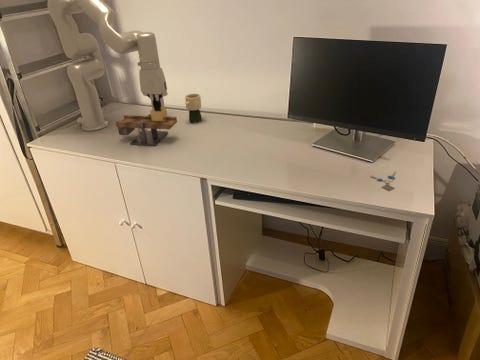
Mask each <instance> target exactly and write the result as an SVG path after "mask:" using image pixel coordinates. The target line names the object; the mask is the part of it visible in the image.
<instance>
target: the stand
mask: <svg viewBox="0 0 480 360" xmlns="http://www.w3.org/2000/svg"><path fill="white" fill-rule="evenodd" d="M147 116H151V113H150V114H148V115H147ZM137 125H138V128H137V129H138V133H139V134H138V135H137V136H136V137H135V138H134V139H133V140H132V141H131V142H130V143H129V145H130V146H139V147H157V146H158V145H159V144H160V142H161V143H162V141H163V140H164V139H165V137H167V135H169V131H167V130H166V131H164V130H163V131H162V130H158V129H150V130H146V128H145V127H144V123H138V124H137Z"/></svg>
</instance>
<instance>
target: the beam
mask: <svg viewBox="0 0 480 360" xmlns="http://www.w3.org/2000/svg"><path fill="white" fill-rule="evenodd" d="M167 119H168V121H167V122H166V123H152V118H151V116H148V115H135V114H134V115H129V114H127V115H126V114H124V115H123V118H122V120H121V121H120V120H119V121H115V125H116V126H115V127H116V128H117V129H118V134H119V136H129V135H130V134H131V133H133V131H135V130H136V129H138V125H137V124H138V123H144V127H145V129H150V130H151V129H157V130H170V129H172V128H173V127H174V126H175V124H177V123H178V120H177V116H167Z"/></svg>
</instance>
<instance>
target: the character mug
mask: <svg viewBox="0 0 480 360" xmlns="http://www.w3.org/2000/svg"><path fill="white" fill-rule="evenodd" d="M201 99H202V98H201V94H199V93H189V94H186V95H185V108H186V110H189V111H188V121H189V122H190V123H199V122H202V121H203V120H202V119H203V117H202V114H201V110H200V109H201V108H202V100H201Z"/></svg>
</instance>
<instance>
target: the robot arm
mask: <svg viewBox="0 0 480 360" xmlns="http://www.w3.org/2000/svg"><path fill="white" fill-rule="evenodd" d="M110 3H111V0H47V10H48V12H49V16H50V18H51V19H52V21H53V24H54V25H55V28H56V30H57V31H56V32H57V34H58V37H59V41H60V43H61V46H62V50H63V51H64V52H63V53H64V54H65V55H66V57H67V58H69V59H74V60H75V59H79V58H84V57H86V58H84V59H80V60H76V61H73V62H71V63H70V64H69V65H68V66H67V68H66V73H67V76H68V78H69V80H70V82H71V85H72V86H73V89H74V93H75V96H76V100H77V103H78V106H79V107H78V108H79V111H80V114H81V117H78V118H77V123H79V124H82V125H81V129H82V130H83V131H85V132H92V131H98V130H99V131H100V130H102V129H104V128H107V127H108V125H109V121H108V120H106V119H105V118H104V113H103V111H102V106H101V102H100V98H99V95H98V92H97V91H98V90H97V89H96V87H95V86H94V85H93V84H92V82H91V81H93V80H96V79H99V78H101V77H102V76H104V74H105V73H106V71H105V69H106V67H105V63H104V59H103V56H102V52H101V49H100V45H99V42H98V40H97V39H96V37H95V36H94V35H93V34H91V33H88V32H83V33H80V31H79V27H78V25H77V23H76V20H74V18H72V17H71V15H72V14H74V15H75V14H81V13H84V14H86V15H87V17H88V18H90V19H91V20H92V21H93V22H94V23H95V24H97V25H98V33H99V34H100V37H101V39H102V41H103V42H104V43H105V44H106V45H107V46H108V47H109V48H110V49H111V50H113V52H116V53H117V54H119V55H127V54H130V53H134V52H138V59H139V62H137V67H140V68H139V72H138V75H139V78H138V79H139V86H140V92H141V94H142V95H143V96H145V97H148V98H149V99H150V102H151V101H152V102H153V107H154V110H159V109H160V108H161V101H160V99H161V98H162V97H163V98H164V97H166V96H168V86H167V85H168V84H167V81H166V76H165V73H164V71H163V67H161V63H160V59H159V51H158V45H157V38H156V35H155V33H154V32H151V31H140V30H131V31H126V32H122V33H118V32H117V31H116V30H115V29H113V28H112V26H111V25H112V24H113V22H114V21H115V16H116V13H115V11H114V10H113V9H112V8H111V7H110V6H109V5H110ZM155 95H156V96H155Z"/></svg>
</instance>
